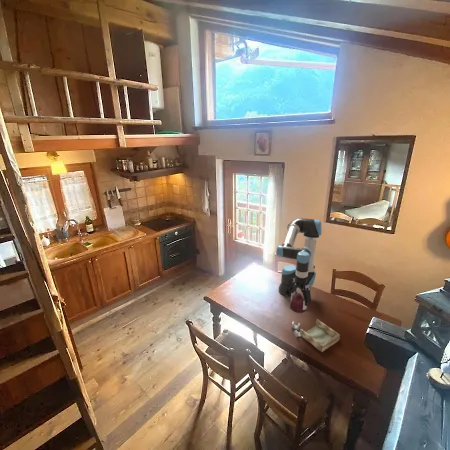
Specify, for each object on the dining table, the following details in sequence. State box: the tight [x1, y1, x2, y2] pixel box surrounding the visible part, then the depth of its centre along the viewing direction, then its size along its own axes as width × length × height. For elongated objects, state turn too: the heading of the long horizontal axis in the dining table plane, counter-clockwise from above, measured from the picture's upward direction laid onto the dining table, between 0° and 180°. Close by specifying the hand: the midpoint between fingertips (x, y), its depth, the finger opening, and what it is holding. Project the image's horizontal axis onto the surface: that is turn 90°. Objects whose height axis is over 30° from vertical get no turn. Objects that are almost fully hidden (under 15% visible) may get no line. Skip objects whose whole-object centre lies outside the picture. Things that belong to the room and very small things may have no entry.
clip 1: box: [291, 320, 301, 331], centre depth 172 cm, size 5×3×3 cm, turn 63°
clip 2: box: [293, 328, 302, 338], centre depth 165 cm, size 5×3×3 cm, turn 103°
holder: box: [299, 318, 341, 353], centre depth 163 cm, size 17×17×4 cm
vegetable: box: [289, 292, 307, 314], centre depth 162 cm, size 10×10×15 cm
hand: (298, 304), depth 164 cm, fingers closed on vegetable, 9 cm apart
